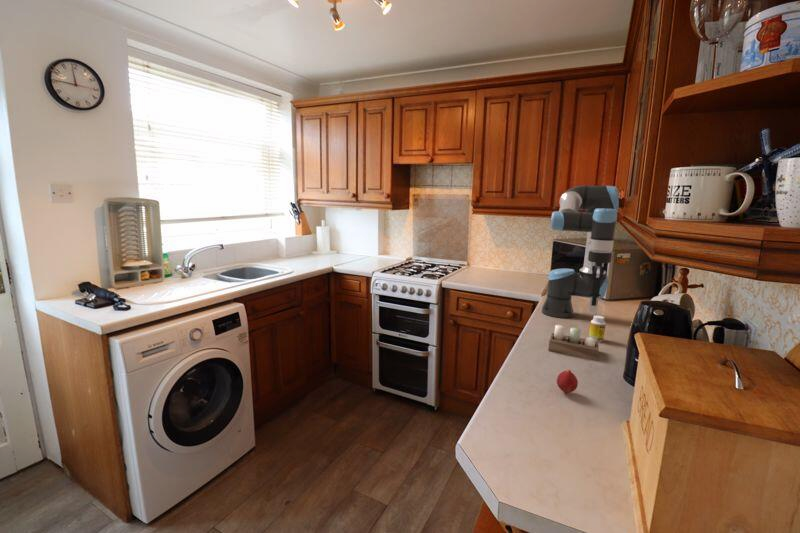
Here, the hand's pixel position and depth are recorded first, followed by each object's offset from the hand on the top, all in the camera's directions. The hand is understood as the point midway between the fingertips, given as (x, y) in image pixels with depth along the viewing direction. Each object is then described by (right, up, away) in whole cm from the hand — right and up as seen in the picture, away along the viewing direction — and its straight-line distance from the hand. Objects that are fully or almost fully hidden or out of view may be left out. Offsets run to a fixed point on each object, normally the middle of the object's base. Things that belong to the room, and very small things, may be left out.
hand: (592, 313), depth 142 cm
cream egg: (-10, -11, +7) cm, 16 cm away
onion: (-22, -21, -27) cm, 41 cm away
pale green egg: (-5, -12, +5) cm, 13 cm away
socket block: (-5, -15, +5) cm, 17 cm away
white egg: (0, -15, +3) cm, 15 cm away
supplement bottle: (+10, -14, +18) cm, 25 cm away
